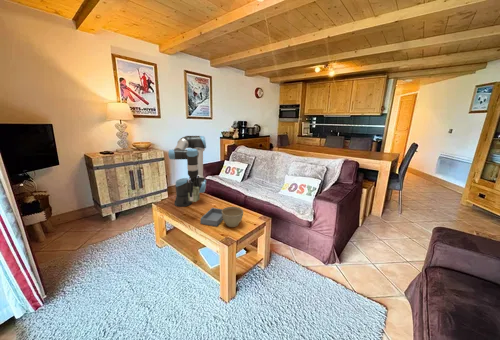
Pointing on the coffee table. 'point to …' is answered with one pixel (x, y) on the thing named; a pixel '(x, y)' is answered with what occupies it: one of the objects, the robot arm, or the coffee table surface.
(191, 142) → the robot arm
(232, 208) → the planter bowl
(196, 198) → the olive block
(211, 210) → the bin
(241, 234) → the coffee table surface
